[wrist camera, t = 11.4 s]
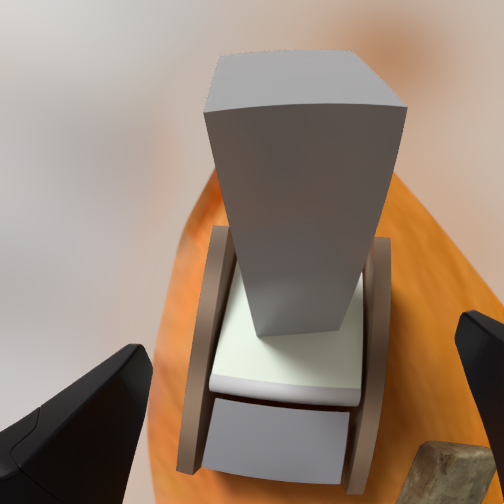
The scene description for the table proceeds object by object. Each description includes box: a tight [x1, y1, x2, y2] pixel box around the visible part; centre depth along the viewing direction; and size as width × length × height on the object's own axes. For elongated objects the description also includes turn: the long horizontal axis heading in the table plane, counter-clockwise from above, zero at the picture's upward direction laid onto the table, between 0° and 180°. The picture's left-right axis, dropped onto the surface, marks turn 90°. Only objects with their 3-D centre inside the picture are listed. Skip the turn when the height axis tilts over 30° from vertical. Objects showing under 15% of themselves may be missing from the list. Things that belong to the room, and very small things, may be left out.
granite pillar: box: [204, 50, 407, 337], centre depth 12 cm, size 5×5×13 cm
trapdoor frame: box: [176, 225, 391, 495], centre depth 17 cm, size 15×11×5 cm
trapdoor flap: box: [201, 260, 363, 484], centre depth 17 cm, size 14×8×4 cm, turn 173°
